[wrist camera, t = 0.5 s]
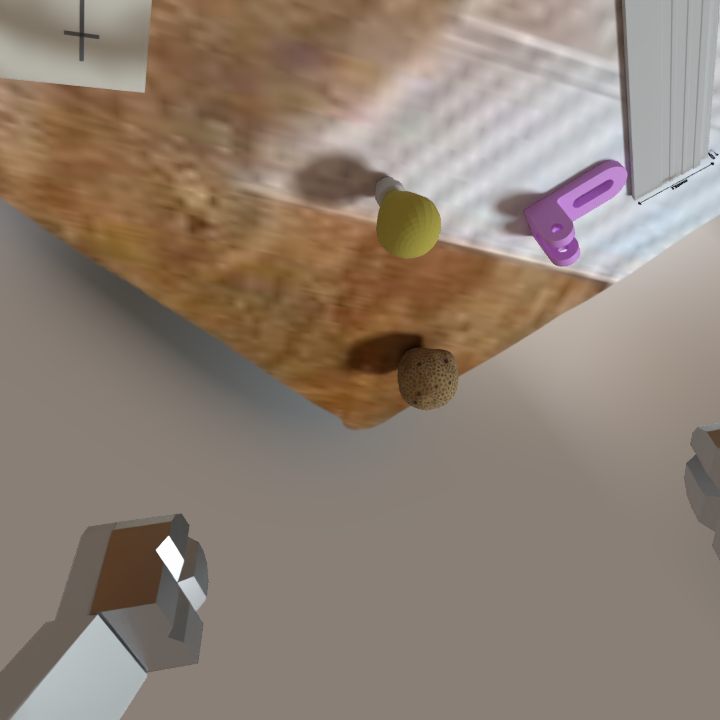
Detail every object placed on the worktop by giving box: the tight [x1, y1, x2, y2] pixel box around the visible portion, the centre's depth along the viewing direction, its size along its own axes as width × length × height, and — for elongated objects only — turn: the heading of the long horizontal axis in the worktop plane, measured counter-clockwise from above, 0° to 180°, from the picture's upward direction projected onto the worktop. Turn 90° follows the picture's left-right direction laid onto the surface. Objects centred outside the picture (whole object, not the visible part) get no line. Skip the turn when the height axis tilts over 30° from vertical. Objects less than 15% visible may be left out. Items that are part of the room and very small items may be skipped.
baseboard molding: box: [622, 0, 720, 205], centre depth 75 cm, size 31×3×12 cm
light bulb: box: [375, 177, 441, 258], centre depth 70 cm, size 7×7×10 cm
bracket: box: [524, 160, 628, 266], centre depth 83 cm, size 13×6×7 cm, turn 116°
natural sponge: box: [398, 348, 458, 410], centre depth 96 cm, size 9×9×10 cm
